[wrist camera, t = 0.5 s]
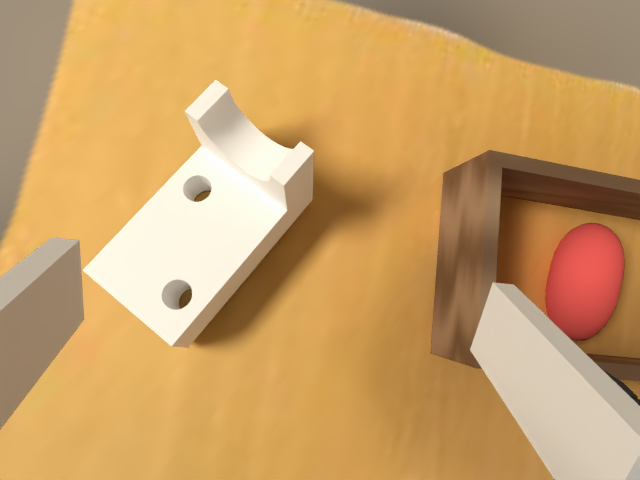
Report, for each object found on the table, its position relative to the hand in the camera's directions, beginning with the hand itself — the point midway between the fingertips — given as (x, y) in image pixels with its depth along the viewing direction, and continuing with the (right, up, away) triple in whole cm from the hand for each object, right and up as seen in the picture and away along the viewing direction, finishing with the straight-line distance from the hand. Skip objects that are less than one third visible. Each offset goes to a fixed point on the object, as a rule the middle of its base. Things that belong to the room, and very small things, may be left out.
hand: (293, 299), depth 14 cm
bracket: (-7, +3, +16) cm, 18 cm away
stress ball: (+21, -1, +22) cm, 31 cm away
